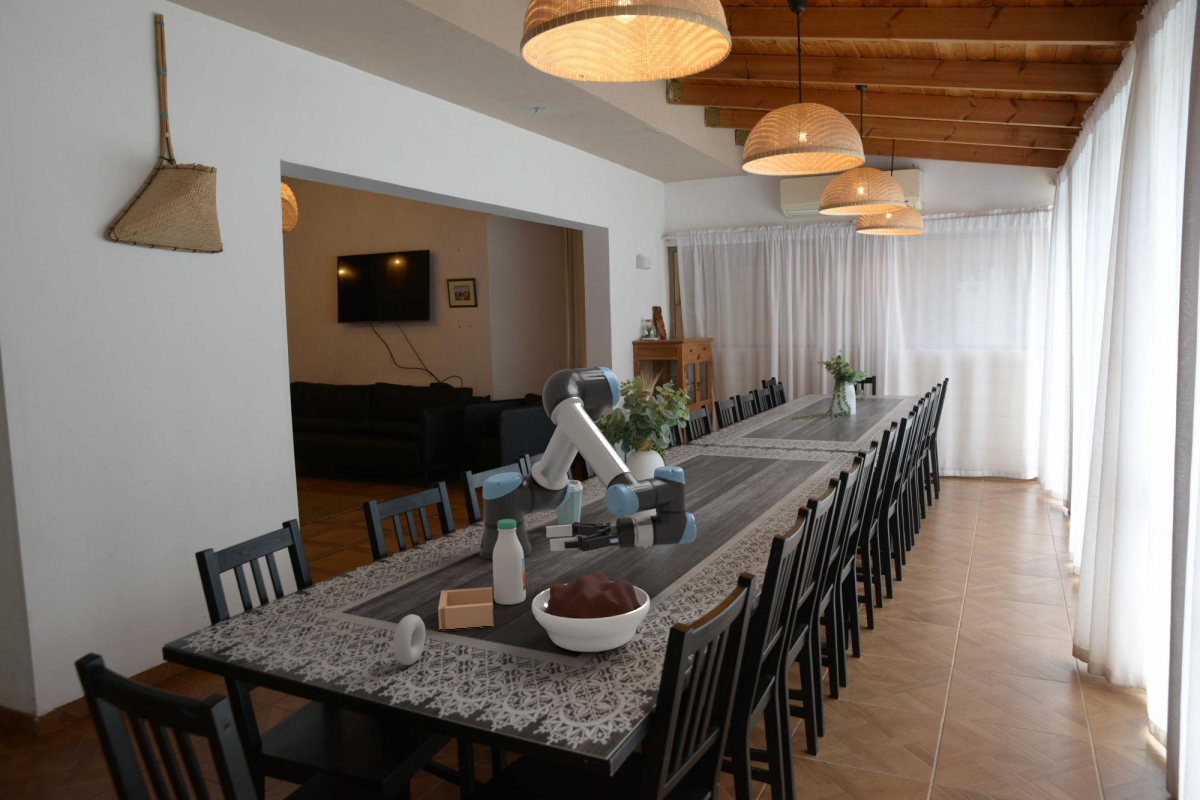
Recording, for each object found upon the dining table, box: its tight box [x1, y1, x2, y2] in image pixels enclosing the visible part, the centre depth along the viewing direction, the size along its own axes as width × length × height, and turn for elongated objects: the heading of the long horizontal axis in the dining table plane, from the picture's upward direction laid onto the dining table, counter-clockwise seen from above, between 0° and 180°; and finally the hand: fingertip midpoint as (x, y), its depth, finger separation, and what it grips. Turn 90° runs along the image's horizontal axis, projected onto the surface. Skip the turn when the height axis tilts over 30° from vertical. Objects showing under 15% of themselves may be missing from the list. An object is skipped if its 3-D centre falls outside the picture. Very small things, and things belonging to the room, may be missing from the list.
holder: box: [437, 586, 494, 630], centre depth 194 cm, size 12×13×5 cm
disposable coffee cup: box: [555, 479, 584, 526], centre depth 277 cm, size 11×11×15 cm
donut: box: [392, 613, 427, 666], centre depth 169 cm, size 10×4×10 cm, turn 165°
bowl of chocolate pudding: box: [531, 570, 651, 653], centre depth 177 cm, size 25×25×15 cm
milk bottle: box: [492, 519, 527, 606], centre depth 205 cm, size 8×8×20 cm
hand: (548, 538), depth 206 cm, fingers open, 13 cm apart
